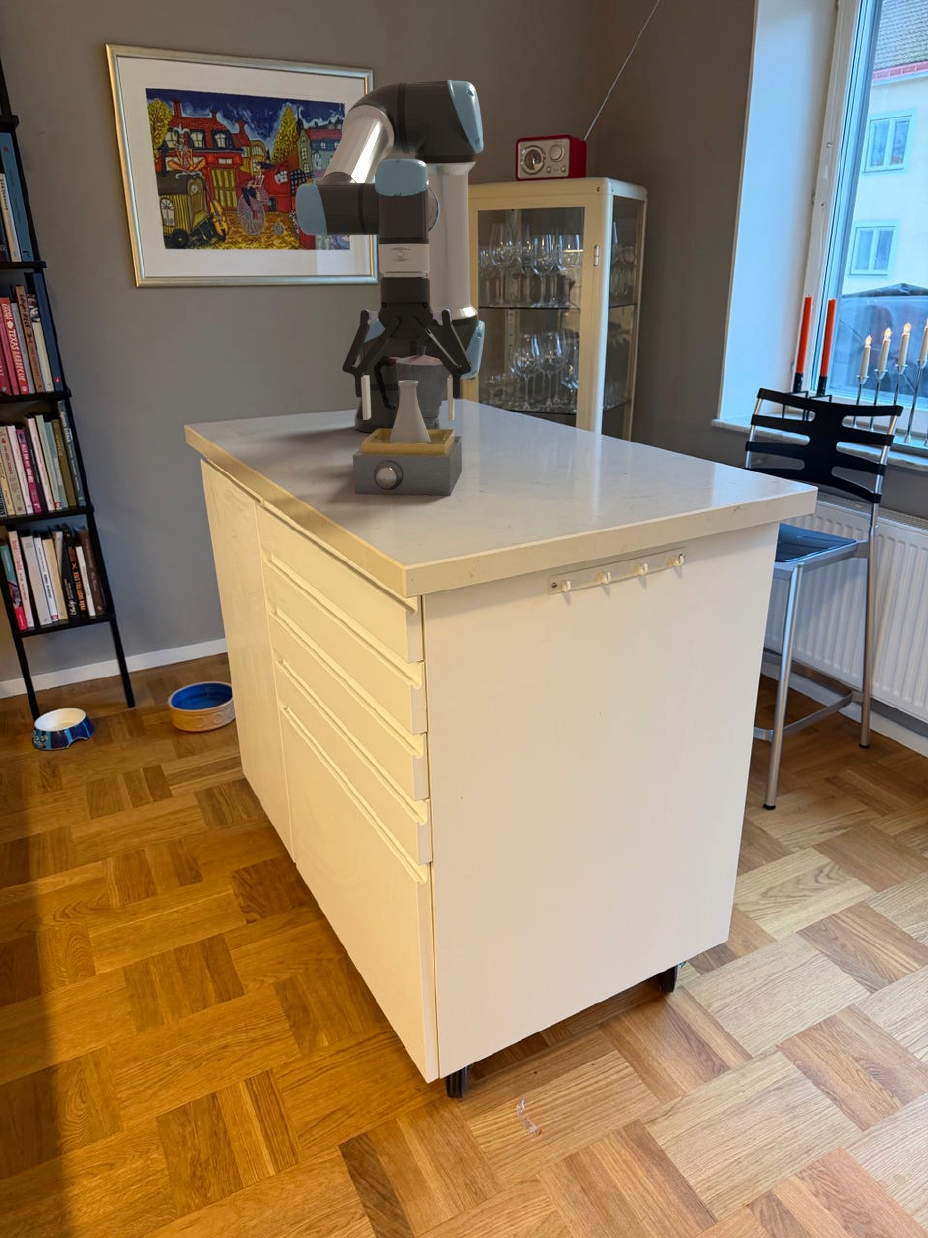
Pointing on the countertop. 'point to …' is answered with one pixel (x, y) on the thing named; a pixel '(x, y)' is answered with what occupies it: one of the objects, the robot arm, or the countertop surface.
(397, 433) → the flask
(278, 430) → the countertop surface
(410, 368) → the moka pot
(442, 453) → the plate
